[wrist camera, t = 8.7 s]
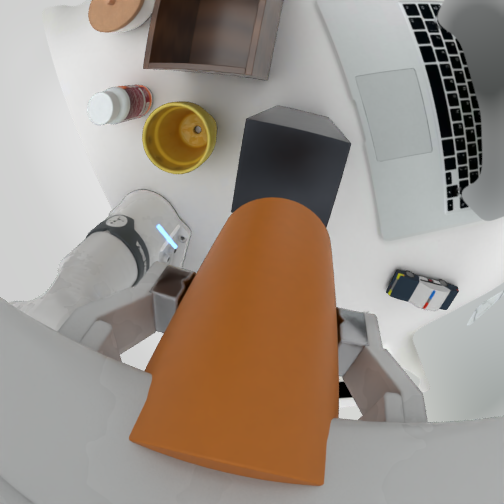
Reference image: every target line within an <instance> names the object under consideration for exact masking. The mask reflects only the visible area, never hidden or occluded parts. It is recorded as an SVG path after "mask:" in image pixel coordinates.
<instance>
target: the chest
mask: <svg viewBox="0 0 504 504" xmlns="http://www.w3.org/2000/svg"><path fill="white" fill-rule="evenodd" d="M283 1H284V0H155V3H154V8H153V12H152V17H151V22H150V28H149V33H148V39H147V45H146V51H145V58H144V65H143V69H159V70H174V71H185V72H201V73H213V74H223V75H232V76H240V77H248V78H254V79H261V80H268V76H269V71H270V65H271V60H272V55H273V50H274V45H275V40H276V35H277V30H278V25H279V20H280V15H281V10H282V5H283Z"/></svg>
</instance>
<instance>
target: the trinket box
mask: <svg viewBox="0 0 504 504" xmlns="http://www.w3.org/2000/svg"><path fill="white" fill-rule="evenodd" d="M154 3H155V0H92V1H91V4H90V7H89V13H88V17H89V21H90V24H91V26H92V27H93V28H94V29H95V30H97V31H100V32H112V33H119V32H126V31H130V30H133V29H135V28H137V27H139V26H140V25H142V24H143V23H144V22H145V21H146V20H147V19H148V18H149V17H150V15H151V14H152V12H153V8H154Z"/></svg>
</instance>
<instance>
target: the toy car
mask: <svg viewBox="0 0 504 504" xmlns="http://www.w3.org/2000/svg"><path fill="white" fill-rule="evenodd" d="M458 292H459V291H458V287H457V286H454V285H451V284H447V283H446V282H445V281H444V280H441V279H440V280H439V281H436V280H433V279H429V278H425V277H421V276H418V275H414V274H413V273H412V272H410V271H405V272H403V271H399V270H397V271H396V273H395V275H394V277H393V279H392V281H391V283H390V285H389V287H388V288H387V291H386V293H388V294H389V296H391V297H394V298H397V299H400V300H404V301H408V302H410V303H411V304H413V305H414V306H416V307H418V308H421V309H424V310H429V311H437V310H438V309H443V310H447V309H448V307H449V306H450V304H451V303H452V301H453V300H454V298H455V297H456V295H457V293H458Z"/></svg>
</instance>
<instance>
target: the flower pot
mask: <svg viewBox="0 0 504 504" xmlns="http://www.w3.org/2000/svg"><path fill="white" fill-rule="evenodd" d="M196 126H199V127H200V128H201V132H200V133H196V132H195V127H196ZM216 134H217V125H216V122H215V120H214V118H213V117H212V116H211V115H210V114H209V113H208V112H207V111H206V110H204V109H203V108H202V107H200V106H199V105H197V104H194V103H191V102H171V103H167V104H164V105H162V106H160V107H158V108H157V109H155V110H154V111H153V112H152V113H151V114H150V115H149V117H148V118H147V120H146V122H145V125H144V128H143V134H142V141H143V147H144V150H145V152H146V154H147V156H148V158H149V159H150V161H151V162H152V163H153V164H154V165H155V166H157V167H158V168H159V169H161V170H163V171H165V172H168V173H172V174H184V173H188V172H191V171H193V170H194V169H196V168H198V167H199V166H200V165H201V164H203V163H204V162H205V161H206V160H207V159H208V158H209V156H210V155H211V153H212V152H213V150H214V147H215V143H216Z"/></svg>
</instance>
